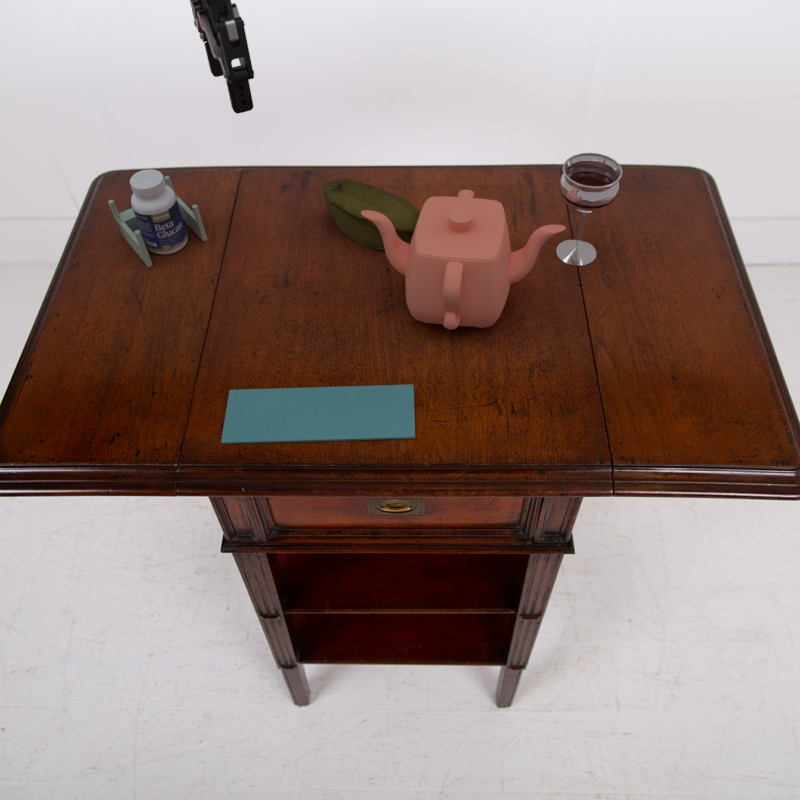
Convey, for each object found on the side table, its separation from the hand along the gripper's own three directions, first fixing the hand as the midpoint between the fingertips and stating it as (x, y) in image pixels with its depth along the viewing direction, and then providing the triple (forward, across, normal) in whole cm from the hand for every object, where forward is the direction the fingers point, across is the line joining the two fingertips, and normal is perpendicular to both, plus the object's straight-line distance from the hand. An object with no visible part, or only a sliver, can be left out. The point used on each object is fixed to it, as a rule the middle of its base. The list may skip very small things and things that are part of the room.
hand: (232, 91), depth 84 cm
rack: (+20, -5, -12) cm, 23 cm away
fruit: (+20, +6, +13) cm, 25 cm away
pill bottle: (+20, -4, -12) cm, 23 cm away
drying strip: (+20, +32, -4) cm, 37 cm away
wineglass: (+20, +22, +34) cm, 45 cm away
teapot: (+20, +22, +17) cm, 34 cm away
